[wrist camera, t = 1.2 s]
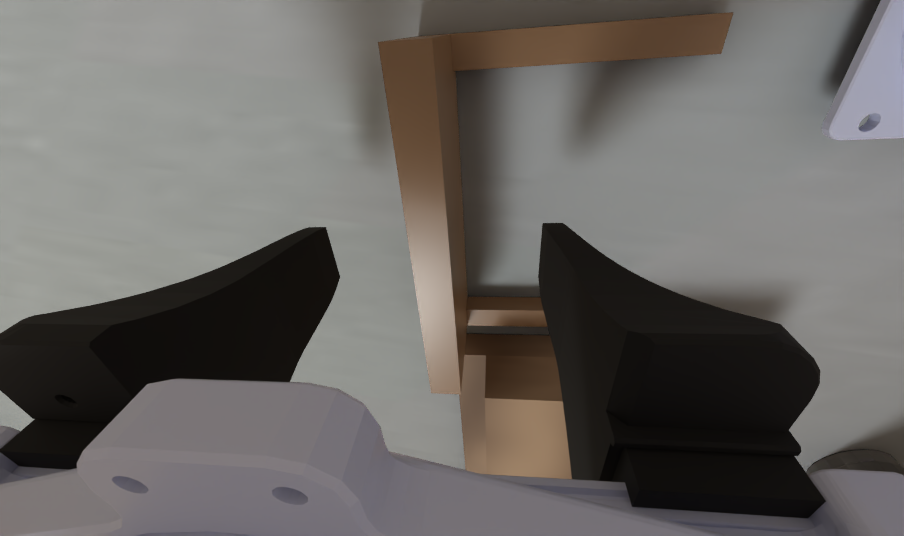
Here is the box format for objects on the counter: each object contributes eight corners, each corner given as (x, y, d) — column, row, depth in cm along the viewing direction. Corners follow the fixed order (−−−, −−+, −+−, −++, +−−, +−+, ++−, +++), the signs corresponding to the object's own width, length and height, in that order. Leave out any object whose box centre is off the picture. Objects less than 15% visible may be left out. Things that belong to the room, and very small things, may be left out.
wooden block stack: (741, 339, 18) (826, 447, 13) (653, 509, 28) (684, 604, 23) (458, 333, 19) (447, 427, 15) (470, 496, 29) (466, 582, 25)
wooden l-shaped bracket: (715, 13, 11) (848, 6, 7) (632, 314, 18) (675, 403, 13) (418, 36, 12) (378, 41, 8) (445, 311, 19) (431, 393, 15)
